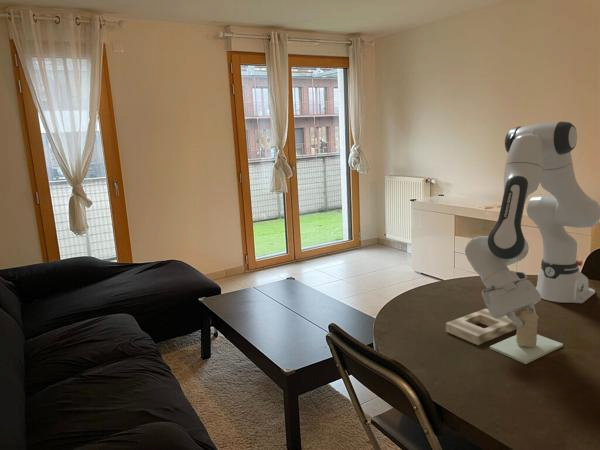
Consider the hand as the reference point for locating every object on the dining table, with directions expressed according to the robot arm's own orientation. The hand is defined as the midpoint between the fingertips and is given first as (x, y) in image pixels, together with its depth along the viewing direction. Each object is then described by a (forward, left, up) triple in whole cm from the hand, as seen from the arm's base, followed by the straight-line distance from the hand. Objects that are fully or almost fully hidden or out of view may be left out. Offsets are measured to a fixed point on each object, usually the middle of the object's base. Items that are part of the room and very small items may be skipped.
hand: (529, 322), depth 139 cm
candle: (0, -1, -7) cm, 7 cm away
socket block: (0, -17, -8) cm, 18 cm away
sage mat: (0, -1, -8) cm, 8 cm away
